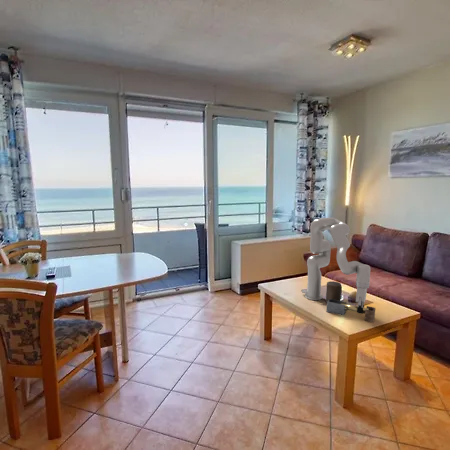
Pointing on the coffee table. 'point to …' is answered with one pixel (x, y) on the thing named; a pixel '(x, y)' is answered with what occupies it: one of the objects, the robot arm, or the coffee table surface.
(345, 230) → the robot arm
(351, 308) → the tube
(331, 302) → the grey rectangular block
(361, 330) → the coffee table surface
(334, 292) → the pillar candle
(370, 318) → the socket
